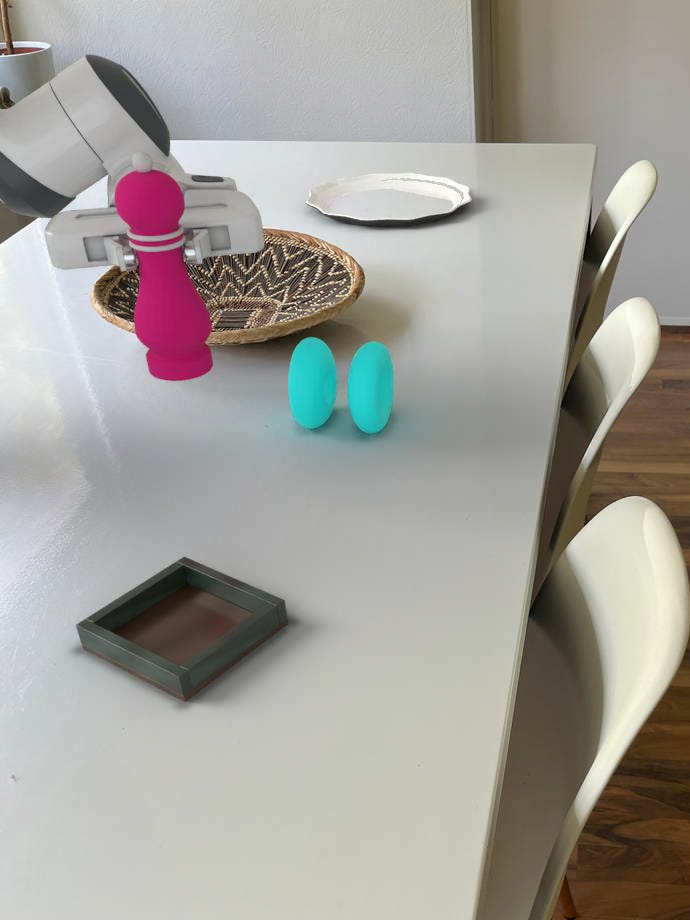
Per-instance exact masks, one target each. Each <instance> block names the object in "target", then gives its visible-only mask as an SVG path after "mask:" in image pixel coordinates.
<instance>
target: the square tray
mask: <svg viewBox="0 0 690 920" xmlns="http://www.w3.org/2000/svg"><path fill="white" fill-rule="evenodd" d="M286 605H287V604H286V600H285V599H284V598H281V597H279V596H276V595H274V594H272V593H269V592H267V591H266V590H262V589H260V588H258V587H255V586H253V585H251V584H249V583H247V582H245V581H242V580H240V579H237V578H235V577H233V576H230V575H228V574H225V573H223V572H221V571H218V570H216V569H214V568H212V567H209V566H207V565H206V564H203V563H200V562H198V561H196V560H193V559H191V558H189V557H186V556H183V557H180V558H179V559H177V560H176V561H174V562H172V563H171V564H170V565H168V566H167V567H165V568H163V569H162V570H160V571H159V572H157V573H156V574H153V575H152V576H151V577H149V578H148V579H146V580H144V581H142V582H141V583H140V584H138V585H136V586H135V587H134V588H132V589H130V590H129V591H127V592H125V593H124V594H122V595H121V596H119V597H117V598H116V599H114V600H113V601H111V602H109V603H108V604H106V605H105V606H103V607H102V608H100V609H99V610H97V611H96V612H94V613H92V614H91V615H89V616H87V617H86V618H84V619H82V620H81V621H80V622H78V623H75V628H76V631H77V634H78V637H79V640H80V644H81V647H82V649H83V650H84V651H86V652H88V653H90V654H92V655H94V656H95V657H98V658H99V659H101V660H103V661H105V662H107V663H109V664H111V665H112V666H115V667H116V668H118V669H120V670H123V671H124V672H126V673H128V674H130V675H132V676H134V677H136V678H138V679H139V680H141V681H143V682H145V683H147V684H149V685H151V686H153V687H154V688H156V689H159V690H161V691H163V692H164V693H167V694H169V695H170V696H172V697H174V698H176V699H177V700H180V701H182V702H184V703H186V702H188V701H189V700H190V699H192V697H194V696H195V695H197V694H198V693H199V692H200V691H202V690H203V689H204V688H206V687H207V686H208V685H210V684H211V683H213V681H215V680H217V678H219V677H220V676H222V675H223V674H224V673H226V672H227V671H228V670H230V669H231V668H232V667H233V666H235V665H236V664H238V663H239V662H241V661H242V660H243V659H244V658H245V657H247V656H248V655H250V654H251V653H252V652H254V651H255V650H257V649H258V648H259V647H260V646H261V645H263V644H264V643H265V642H267V641H268V640H269V639H271V638H272V637H273V636H275V635H276V634H277V633H279V632H280V631H281V630H283V629H284V628H285V627H286V626H288V625H289V619H288V612H287V606H286Z"/></svg>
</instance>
